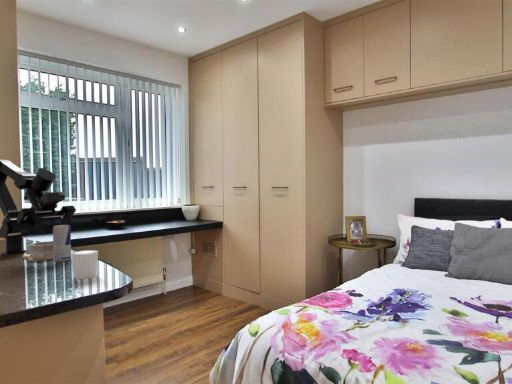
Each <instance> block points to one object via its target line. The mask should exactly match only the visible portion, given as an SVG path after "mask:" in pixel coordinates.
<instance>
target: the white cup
mask: <svg viewBox="0 0 512 384" xmlns="http://www.w3.org/2000/svg"><path fill="white" fill-rule="evenodd" d="M98 257H99V251H98V250H95V249H87V250H86V249H85V250H77V251H73V252H71V262H72V268H73V269H72V270H73V277H74V279H77V280H85V279H91V278H94V277H96V276H97V274H98V273H97V272H98V261H99V258H98Z"/></svg>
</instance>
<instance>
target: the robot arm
mask: <svg viewBox="0 0 512 384" xmlns="http://www.w3.org/2000/svg"><path fill="white" fill-rule="evenodd" d="M8 177H9V178H10V179H11V180H13V185H14V186H15V187H16V188H17V189H18V190H24V191H25V190H26V191H25V193H24V196H23V201H28V202H29V203H30V204H31V206H30V207H23V208H21V209H20V210H18V209H19V208H18V207H17V205H16V202H15V201H14V199H13V197H12V195H11V192H10V190H9V188H8V185H7V184H6V182H7V178H8ZM56 177H57V176H56V175H55V173H54V172H52V171H51V170H47V169H46V168H45V167H39V168H38V169H37V171H36V173H33V172H28V171H25V170H23V169H22V168H20V167H19V166H17V165H15V164H14V163H13V162H12V161H11V160H8V159H0V211H1V213H2V214H3V219H2V222H1V224H2V225H1V227H0V238H1V239H5V242H4V243H5V245H4V246H5V248H4V249H5V250H2V253H3V254H6V255H11V254H19V253H27V250H26V249H24V236H25V237H26V236H29V234H30V231H31V229H32V230H35V231H36V232H37V233H40V234H42V235H46V229H45V227H44V226H43V224H42V222H41V220H40V219H41V218H42V219H46V218H56V217H57V218H58V220H60V221H59V222H60V224H61V225H70V228H71V229H72V223H71V222H72V221H71V219H72V217H73V216H74V215H75V213H76V211H77V209H76V208H75V207H76V206H74V205H63V206H62V207H61V209H59V210H56V209H57V207H58V204H59V203H60V202H63V201H64V200H65V199H66V196H65V194H64V192H63V191H51V192H49V190H50V188H51V186H52V185H53V183H54V181H55V179H56ZM46 191H47V192H46Z"/></svg>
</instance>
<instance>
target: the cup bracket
mask: <svg viewBox="0 0 512 384" xmlns="http://www.w3.org/2000/svg"><path fill="white" fill-rule="evenodd" d="M22 258H23V259H25V260H28V261H30V262H33V263H36V262H43V261H48V260H54V258H53V241H40V242H33V243H30V244H29V253H28V254H22Z"/></svg>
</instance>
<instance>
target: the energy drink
mask: <svg viewBox="0 0 512 384" xmlns="http://www.w3.org/2000/svg"><path fill="white" fill-rule="evenodd" d="M71 230H72V227H71V228H70V225H62V224H58V225H56V224H55V225H53V227H52V242H53V258H54V259H53V261H54V262H68V261H70V260H72V243H71V240H72V239H71V236H72V235H71V233H72V232H71Z"/></svg>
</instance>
